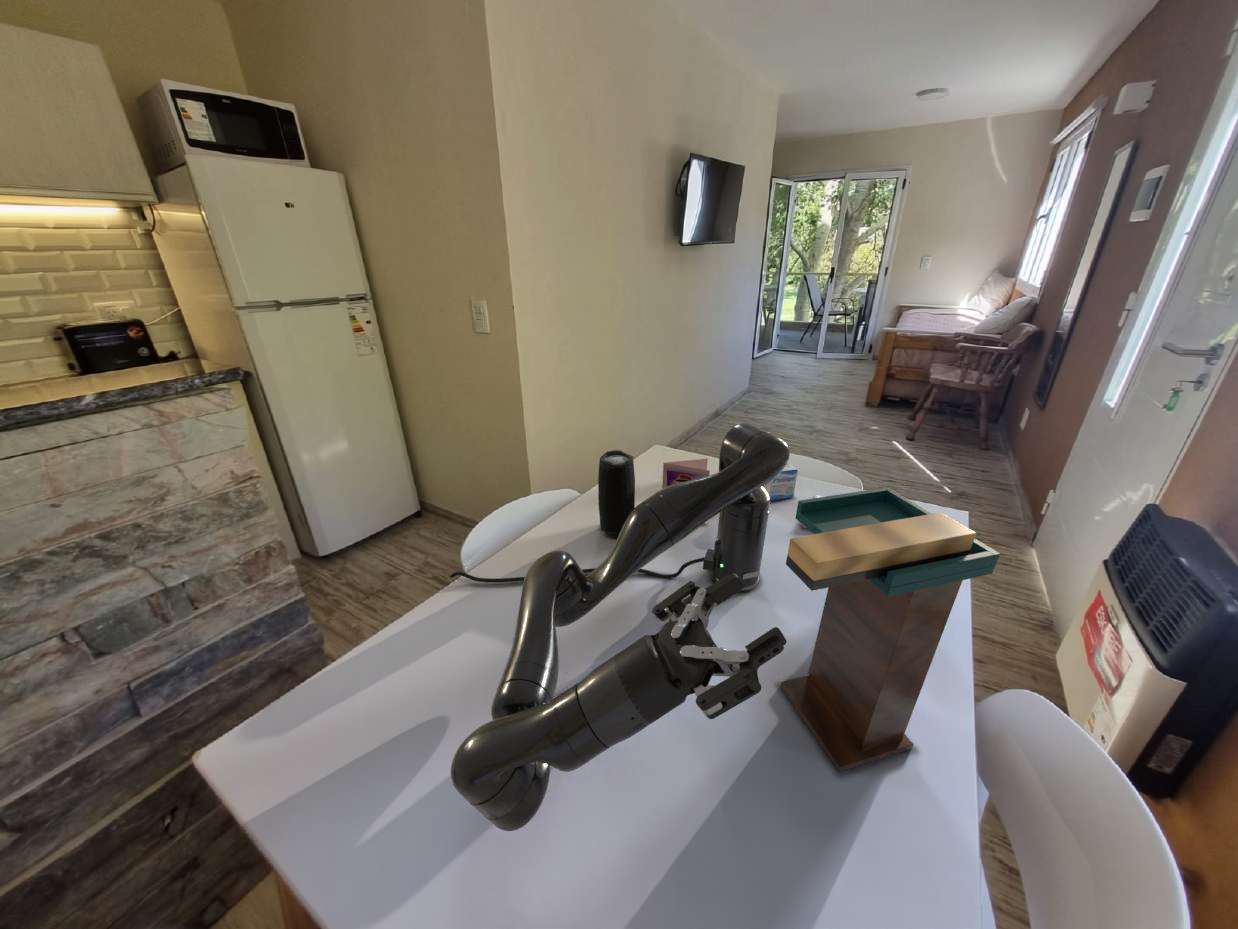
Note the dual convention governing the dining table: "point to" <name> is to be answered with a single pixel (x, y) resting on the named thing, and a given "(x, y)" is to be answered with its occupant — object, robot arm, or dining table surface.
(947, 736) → the dining table surface
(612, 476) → the portable speaker
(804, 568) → the eraser
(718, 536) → the robot arm
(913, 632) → the stand
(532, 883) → the dining table surface
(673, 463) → the greeting card
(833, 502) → the tray
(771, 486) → the medicine box
